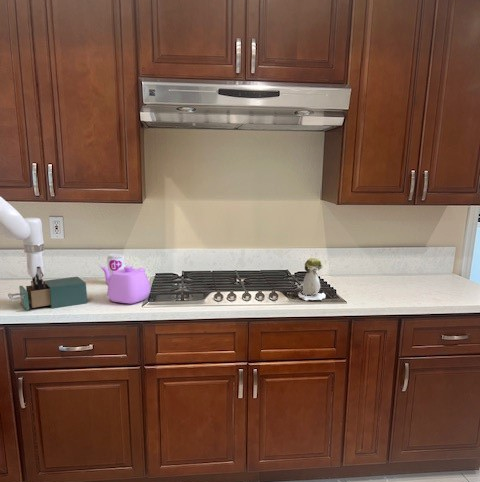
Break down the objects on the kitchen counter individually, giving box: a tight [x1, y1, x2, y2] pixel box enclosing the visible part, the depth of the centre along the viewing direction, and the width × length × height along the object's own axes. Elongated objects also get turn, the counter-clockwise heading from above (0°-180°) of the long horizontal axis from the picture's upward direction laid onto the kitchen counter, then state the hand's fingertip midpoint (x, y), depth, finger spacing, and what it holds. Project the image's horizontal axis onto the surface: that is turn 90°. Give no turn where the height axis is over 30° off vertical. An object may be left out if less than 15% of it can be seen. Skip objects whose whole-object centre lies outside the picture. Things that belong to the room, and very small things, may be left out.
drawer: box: [7, 285, 51, 311], centre depth 193 cm, size 18×11×7 cm, turn 124°
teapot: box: [99, 265, 151, 305], centre depth 206 cm, size 23×21×15 cm
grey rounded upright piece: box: [297, 257, 327, 302], centre depth 211 cm, size 12×13×18 cm
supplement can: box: [106, 253, 126, 275], centre depth 228 cm, size 8×8×15 cm
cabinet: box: [43, 276, 88, 309], centre depth 200 cm, size 15×13×9 cm
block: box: [30, 280, 46, 291], centre depth 193 cm, size 5×5×5 cm
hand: (38, 291), depth 193 cm, fingers closed on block, 4 cm apart
